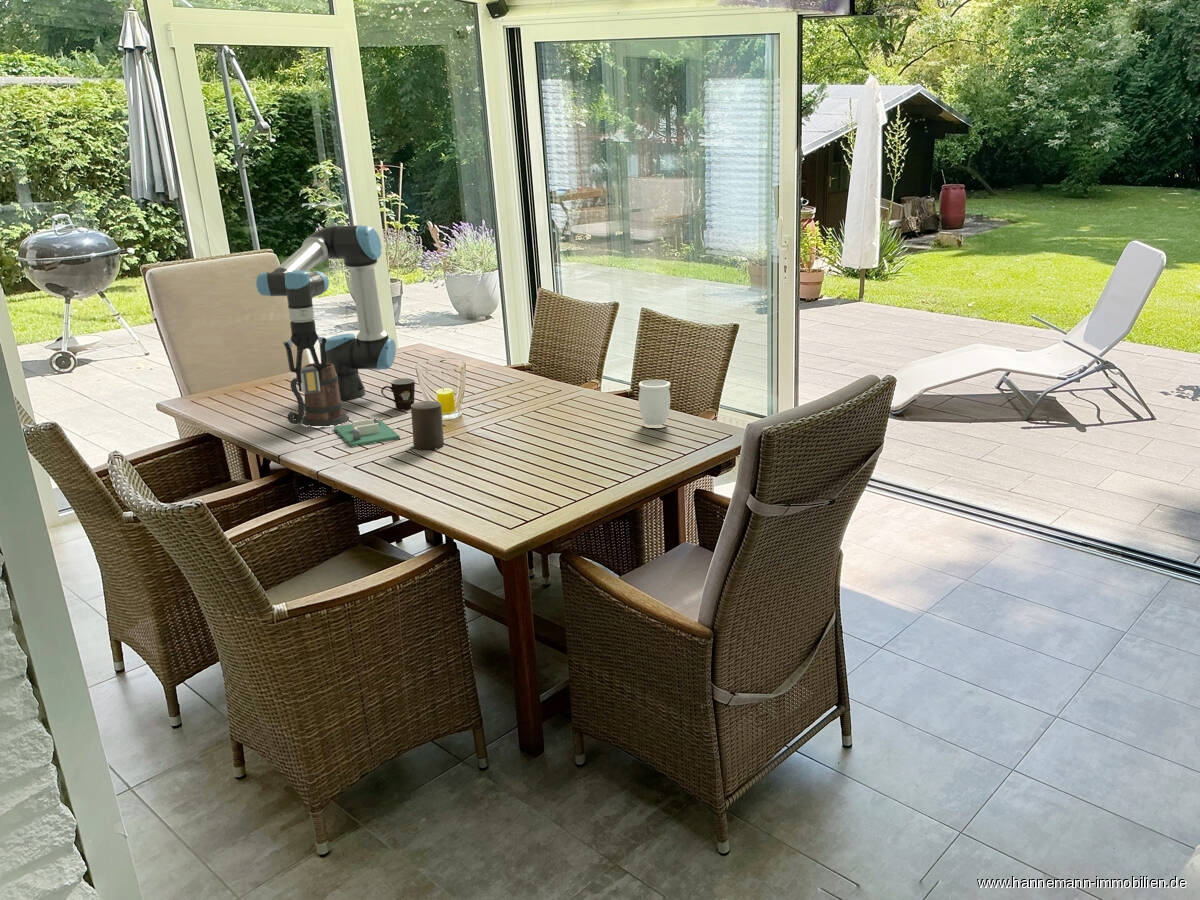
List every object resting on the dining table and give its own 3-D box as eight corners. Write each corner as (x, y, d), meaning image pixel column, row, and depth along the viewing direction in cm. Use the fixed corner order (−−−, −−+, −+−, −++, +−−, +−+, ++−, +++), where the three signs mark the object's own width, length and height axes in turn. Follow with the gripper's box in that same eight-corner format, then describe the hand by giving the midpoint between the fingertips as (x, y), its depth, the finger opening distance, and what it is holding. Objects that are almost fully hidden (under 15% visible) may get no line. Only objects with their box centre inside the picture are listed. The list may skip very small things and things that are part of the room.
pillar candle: (430, 452, 306) (427, 406, 301) (407, 447, 311) (403, 402, 306) (450, 443, 313) (447, 399, 309) (427, 439, 318) (424, 395, 314)
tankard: (327, 411, 352) (320, 357, 346) (360, 418, 343) (354, 363, 337) (274, 428, 334) (267, 372, 327) (308, 435, 325) (300, 378, 318)
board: (334, 429, 330) (333, 418, 329) (380, 422, 338) (379, 411, 336) (351, 447, 312) (350, 435, 311) (399, 438, 319) (398, 427, 318)
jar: (674, 423, 328) (674, 380, 324) (663, 432, 320) (663, 388, 315) (645, 420, 333) (645, 377, 328) (634, 428, 324) (633, 385, 319)
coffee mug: (419, 404, 358) (417, 378, 355) (413, 411, 350) (411, 384, 347) (389, 404, 359) (386, 378, 356) (382, 410, 351) (379, 384, 348)
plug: (303, 391, 317) (300, 367, 314) (315, 389, 318) (313, 366, 316) (306, 394, 313) (303, 370, 311) (318, 392, 315) (315, 368, 312)
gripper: (276, 325, 301) (286, 397, 309) (331, 319, 309) (340, 389, 316) (272, 321, 308) (281, 392, 315) (326, 315, 315) (334, 384, 323)
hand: (311, 390), depth 316 cm, fingers closed on plug, 4 cm apart
